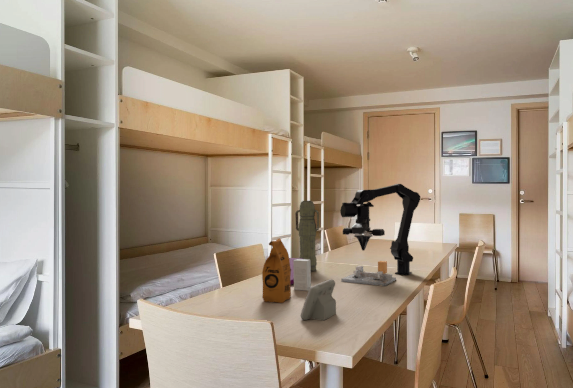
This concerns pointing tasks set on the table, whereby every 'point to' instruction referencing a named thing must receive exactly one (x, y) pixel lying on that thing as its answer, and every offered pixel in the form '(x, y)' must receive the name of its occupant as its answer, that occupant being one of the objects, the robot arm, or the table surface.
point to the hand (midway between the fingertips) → (363, 250)
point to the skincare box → (302, 274)
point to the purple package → (292, 269)
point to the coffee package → (276, 274)
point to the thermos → (307, 231)
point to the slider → (381, 268)
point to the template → (368, 277)
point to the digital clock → (319, 301)
